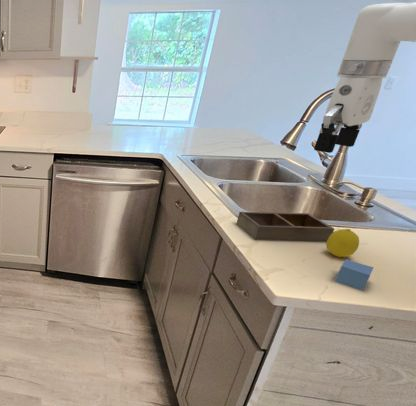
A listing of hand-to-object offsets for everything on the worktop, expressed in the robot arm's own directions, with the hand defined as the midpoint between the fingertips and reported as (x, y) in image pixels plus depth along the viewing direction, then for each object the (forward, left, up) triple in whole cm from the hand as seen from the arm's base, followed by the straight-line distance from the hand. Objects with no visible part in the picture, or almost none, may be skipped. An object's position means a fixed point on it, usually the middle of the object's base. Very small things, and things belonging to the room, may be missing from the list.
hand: (333, 148), depth 84 cm
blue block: (-14, -2, -27) cm, 31 cm away
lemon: (-3, -8, -28) cm, 29 cm away
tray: (+9, -2, -27) cm, 29 cm away
